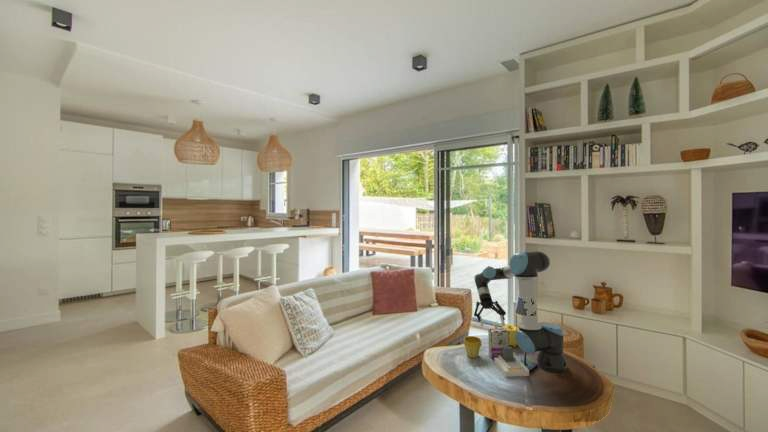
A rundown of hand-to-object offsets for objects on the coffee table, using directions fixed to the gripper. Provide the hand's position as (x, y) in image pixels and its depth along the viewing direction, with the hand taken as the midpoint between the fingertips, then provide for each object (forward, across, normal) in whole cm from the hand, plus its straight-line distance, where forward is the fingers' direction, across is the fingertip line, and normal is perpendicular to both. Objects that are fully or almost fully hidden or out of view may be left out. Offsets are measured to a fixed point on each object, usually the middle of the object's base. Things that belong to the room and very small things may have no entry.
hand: (493, 325), depth 204 cm
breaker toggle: (+22, -1, +5) cm, 23 cm away
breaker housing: (+28, -1, +6) cm, 28 cm away
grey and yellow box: (+5, -13, -17) cm, 22 cm away
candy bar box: (+17, 0, -5) cm, 18 cm away
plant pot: (+15, +15, -7) cm, 22 cm away
